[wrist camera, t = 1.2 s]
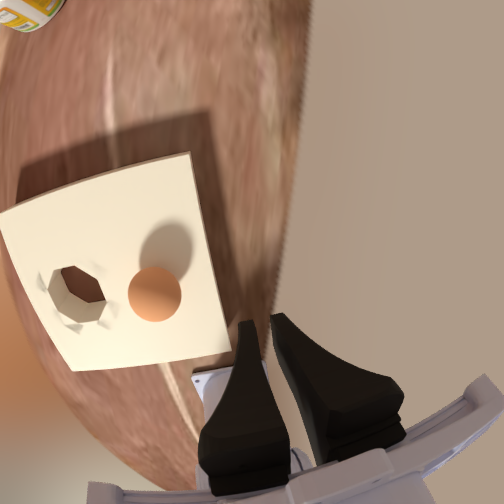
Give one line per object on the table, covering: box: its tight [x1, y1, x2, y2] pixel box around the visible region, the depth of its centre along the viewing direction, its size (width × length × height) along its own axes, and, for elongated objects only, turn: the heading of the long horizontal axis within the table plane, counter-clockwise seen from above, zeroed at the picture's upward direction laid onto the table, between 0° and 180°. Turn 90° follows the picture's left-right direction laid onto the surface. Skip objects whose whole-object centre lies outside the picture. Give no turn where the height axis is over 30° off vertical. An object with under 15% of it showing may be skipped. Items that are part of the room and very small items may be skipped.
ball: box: [128, 267, 182, 322], centre depth 18 cm, size 4×4×4 cm
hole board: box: [0, 151, 232, 371], centre depth 20 cm, size 16×16×3 cm
